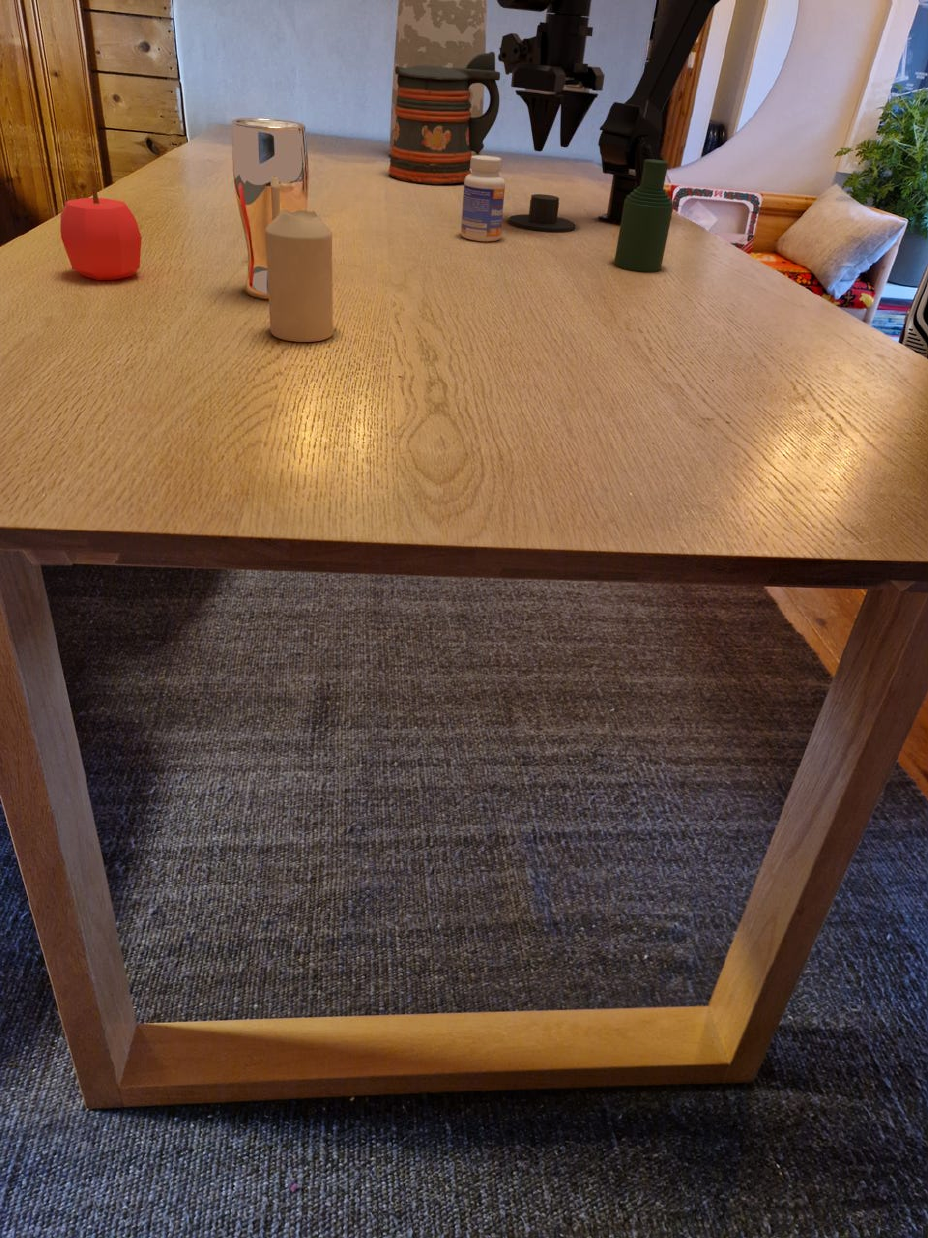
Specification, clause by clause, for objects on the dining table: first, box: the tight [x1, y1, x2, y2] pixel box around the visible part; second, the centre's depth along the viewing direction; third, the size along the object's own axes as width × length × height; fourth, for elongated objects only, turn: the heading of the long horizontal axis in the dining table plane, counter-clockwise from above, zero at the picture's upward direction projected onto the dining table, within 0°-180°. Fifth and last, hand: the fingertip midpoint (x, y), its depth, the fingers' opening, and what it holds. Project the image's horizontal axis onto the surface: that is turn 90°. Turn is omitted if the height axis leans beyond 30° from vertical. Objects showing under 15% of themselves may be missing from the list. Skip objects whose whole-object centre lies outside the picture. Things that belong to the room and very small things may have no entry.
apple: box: [59, 187, 143, 281], centre depth 86 cm, size 8×8×8 cm
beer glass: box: [231, 117, 310, 301], centre depth 83 cm, size 7×7×15 cm
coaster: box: [507, 213, 577, 233], centre depth 128 cm, size 10×10×1 cm
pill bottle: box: [460, 154, 506, 242], centre depth 114 cm, size 5×5×10 cm
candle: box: [265, 209, 334, 343], centre depth 74 cm, size 6×6×10 cm
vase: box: [389, 0, 488, 162], centre depth 168 cm, size 20×19×38 cm
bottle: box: [613, 159, 674, 273], centre depth 107 cm, size 6×6×12 cm
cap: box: [528, 193, 560, 224], centre depth 127 cm, size 4×4×3 cm
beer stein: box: [388, 51, 501, 186], centre depth 151 cm, size 19×15×20 cm
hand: (551, 148), depth 123 cm, fingers open, 9 cm apart
